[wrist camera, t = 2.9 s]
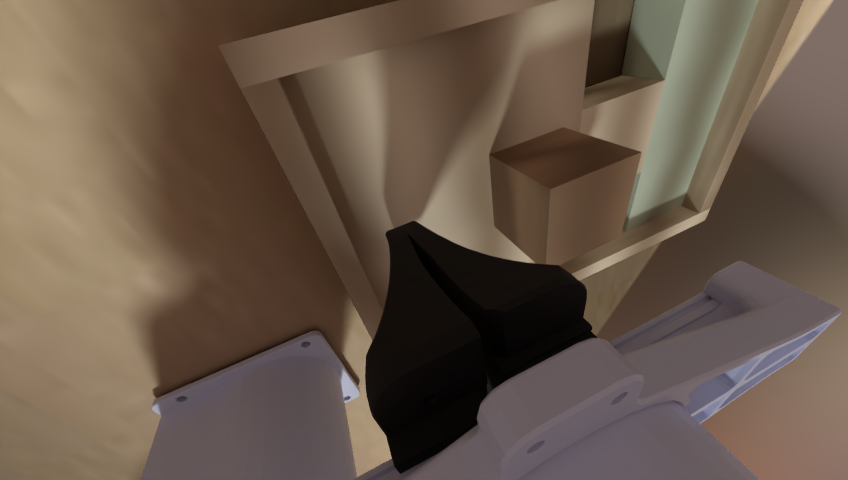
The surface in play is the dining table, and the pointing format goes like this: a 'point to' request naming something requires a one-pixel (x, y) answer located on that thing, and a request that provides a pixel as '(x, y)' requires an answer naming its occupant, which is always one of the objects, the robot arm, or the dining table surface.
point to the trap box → (498, 115)
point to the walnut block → (562, 193)
